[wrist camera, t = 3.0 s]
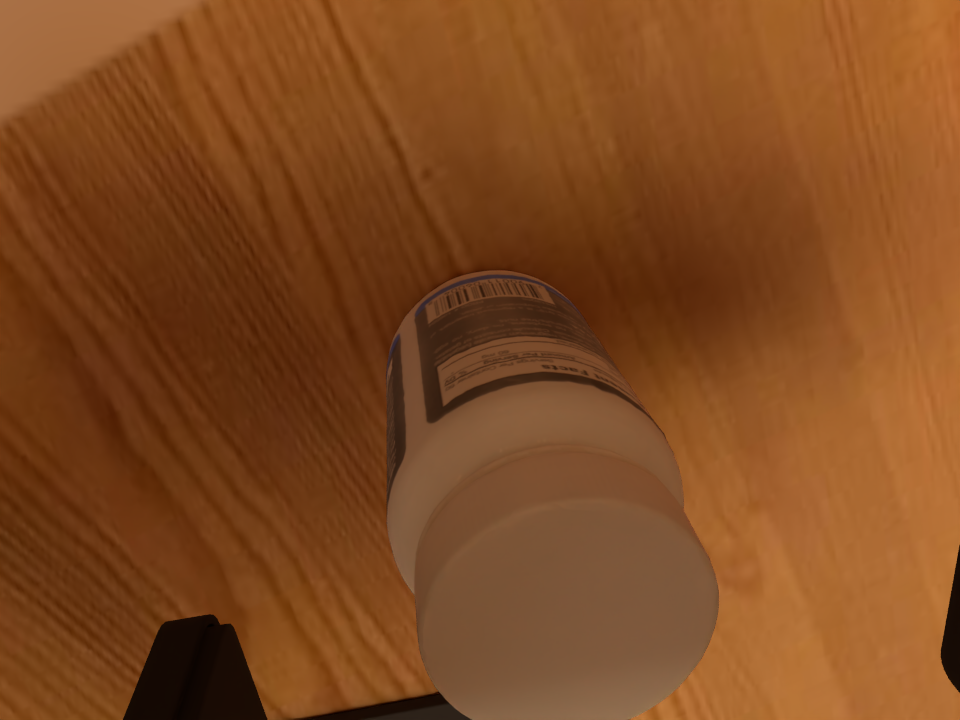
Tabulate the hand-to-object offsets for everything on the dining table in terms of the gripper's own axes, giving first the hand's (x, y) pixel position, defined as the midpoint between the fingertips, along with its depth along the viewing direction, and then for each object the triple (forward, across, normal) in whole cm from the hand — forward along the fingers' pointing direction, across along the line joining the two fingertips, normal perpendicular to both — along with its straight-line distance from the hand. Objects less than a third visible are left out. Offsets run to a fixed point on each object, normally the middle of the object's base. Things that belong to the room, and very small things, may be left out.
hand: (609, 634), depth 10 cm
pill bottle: (+9, +1, 0) cm, 9 cm away
